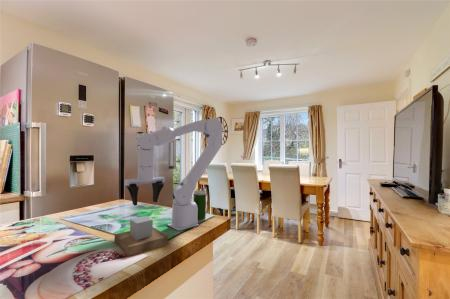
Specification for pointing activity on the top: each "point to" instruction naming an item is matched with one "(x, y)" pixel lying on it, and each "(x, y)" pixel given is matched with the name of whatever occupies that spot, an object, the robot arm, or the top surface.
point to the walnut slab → (140, 242)
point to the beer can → (200, 203)
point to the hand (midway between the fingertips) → (145, 203)
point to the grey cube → (141, 227)
